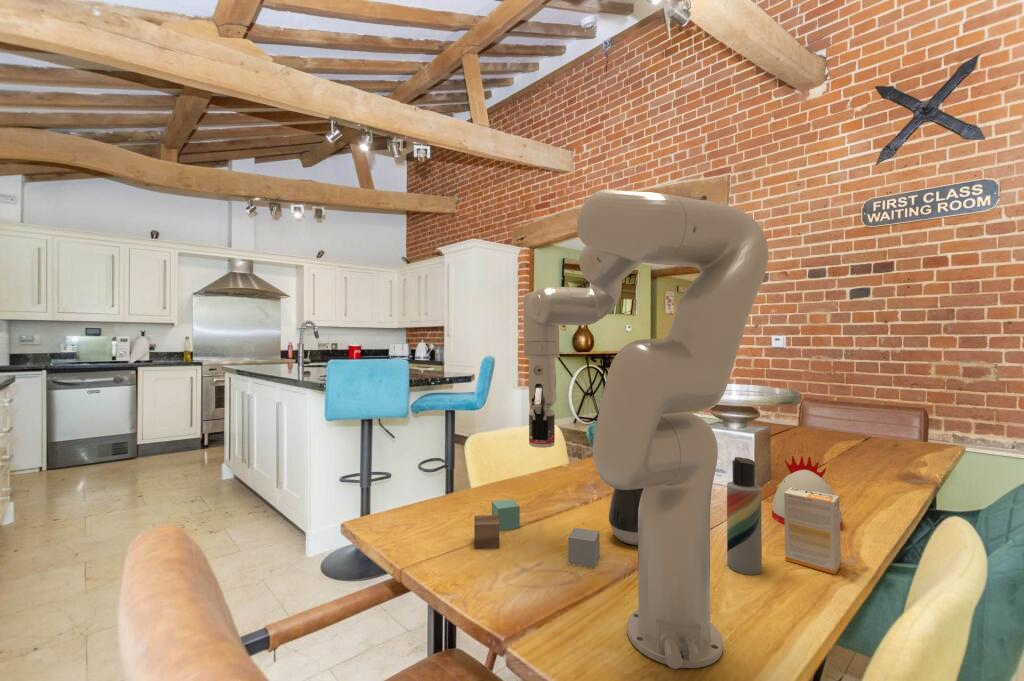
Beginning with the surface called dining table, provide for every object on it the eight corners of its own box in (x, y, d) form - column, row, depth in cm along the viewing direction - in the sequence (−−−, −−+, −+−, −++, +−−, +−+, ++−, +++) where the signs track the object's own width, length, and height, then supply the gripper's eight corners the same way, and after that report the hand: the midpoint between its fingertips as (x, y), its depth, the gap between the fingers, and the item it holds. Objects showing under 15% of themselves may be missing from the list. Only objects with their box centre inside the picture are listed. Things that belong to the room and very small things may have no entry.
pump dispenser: (624, 553, 93) (624, 476, 93) (600, 533, 103) (600, 463, 103) (669, 547, 95) (669, 472, 95) (642, 528, 105) (642, 459, 105)
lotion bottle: (731, 557, 91) (731, 453, 91) (764, 566, 87) (764, 458, 87) (723, 568, 86) (722, 459, 86) (757, 578, 83) (757, 464, 83)
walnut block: (499, 548, 95) (499, 523, 95) (474, 549, 95) (474, 524, 95) (498, 538, 100) (498, 514, 100) (474, 539, 100) (474, 515, 100)
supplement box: (841, 566, 87) (841, 495, 87) (835, 575, 84) (835, 501, 84) (791, 552, 93) (791, 485, 93) (783, 560, 90) (783, 491, 90)
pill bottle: (534, 449, 96) (533, 400, 96) (525, 443, 101) (525, 398, 101) (558, 447, 98) (558, 399, 98) (549, 442, 103) (548, 397, 103)
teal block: (519, 528, 105) (519, 506, 105) (498, 531, 104) (498, 508, 104) (512, 520, 110) (512, 499, 110) (491, 523, 109) (491, 501, 109)
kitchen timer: (773, 506, 119) (772, 447, 119) (839, 516, 112) (839, 453, 112) (770, 525, 107) (770, 458, 107) (845, 537, 100) (844, 466, 100)
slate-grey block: (594, 568, 87) (594, 541, 87) (568, 564, 88) (568, 537, 89) (599, 557, 91) (599, 531, 91) (574, 553, 93) (574, 527, 93)
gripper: (555, 351, 90) (556, 446, 90) (562, 350, 107) (562, 430, 107) (517, 351, 92) (517, 444, 92) (529, 350, 109) (530, 429, 108)
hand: (542, 435), depth 99 cm, fingers closed on pill bottle, 5 cm apart
